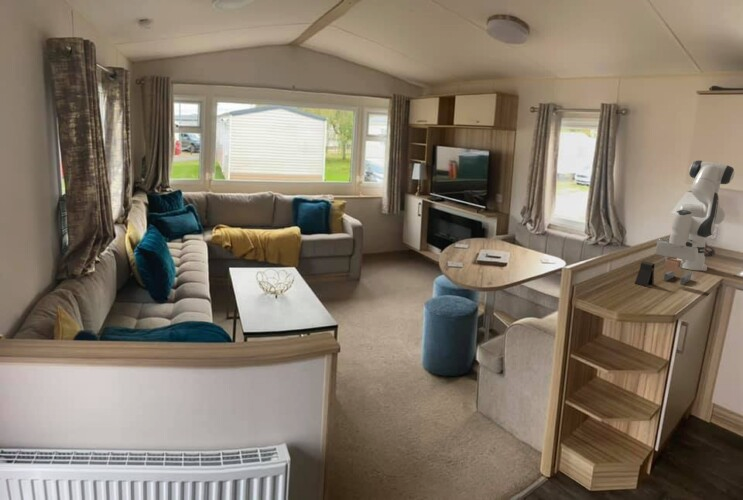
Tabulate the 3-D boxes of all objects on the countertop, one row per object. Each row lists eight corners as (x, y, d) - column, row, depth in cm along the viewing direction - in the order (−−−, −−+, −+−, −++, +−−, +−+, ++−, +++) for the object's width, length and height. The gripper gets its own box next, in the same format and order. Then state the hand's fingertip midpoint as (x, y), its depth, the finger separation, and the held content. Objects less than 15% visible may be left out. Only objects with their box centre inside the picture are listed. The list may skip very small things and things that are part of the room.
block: (670, 267, 306) (671, 258, 305) (680, 269, 303) (681, 260, 301) (665, 269, 300) (666, 260, 299) (675, 271, 297) (676, 262, 296)
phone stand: (645, 286, 296) (649, 264, 293) (634, 283, 300) (638, 262, 298) (653, 284, 301) (657, 263, 298) (642, 281, 306) (646, 260, 303)
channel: (671, 275, 323) (672, 269, 322) (690, 279, 316) (691, 273, 315) (663, 280, 311) (664, 273, 310) (683, 284, 304) (684, 277, 303)
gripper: (656, 237, 303) (651, 262, 306) (698, 245, 289) (693, 270, 293) (659, 236, 307) (654, 260, 310) (701, 243, 294) (696, 268, 297)
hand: (673, 265), depth 302 cm, fingers closed on block, 5 cm apart
